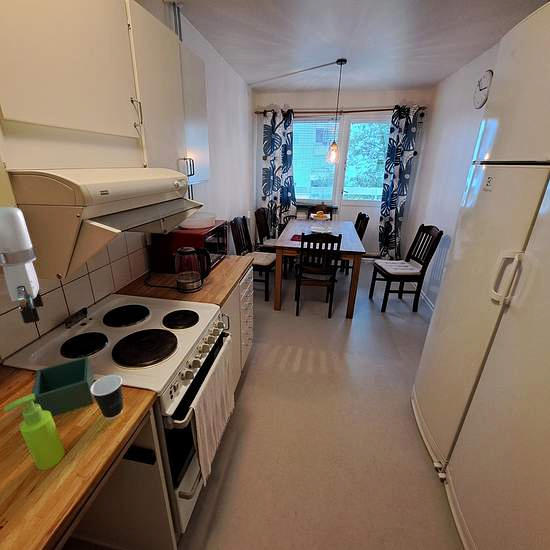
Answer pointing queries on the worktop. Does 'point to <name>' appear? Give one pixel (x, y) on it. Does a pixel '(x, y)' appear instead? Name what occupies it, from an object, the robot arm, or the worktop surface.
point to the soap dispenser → (39, 433)
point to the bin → (64, 386)
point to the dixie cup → (108, 395)
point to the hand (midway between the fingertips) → (34, 314)
